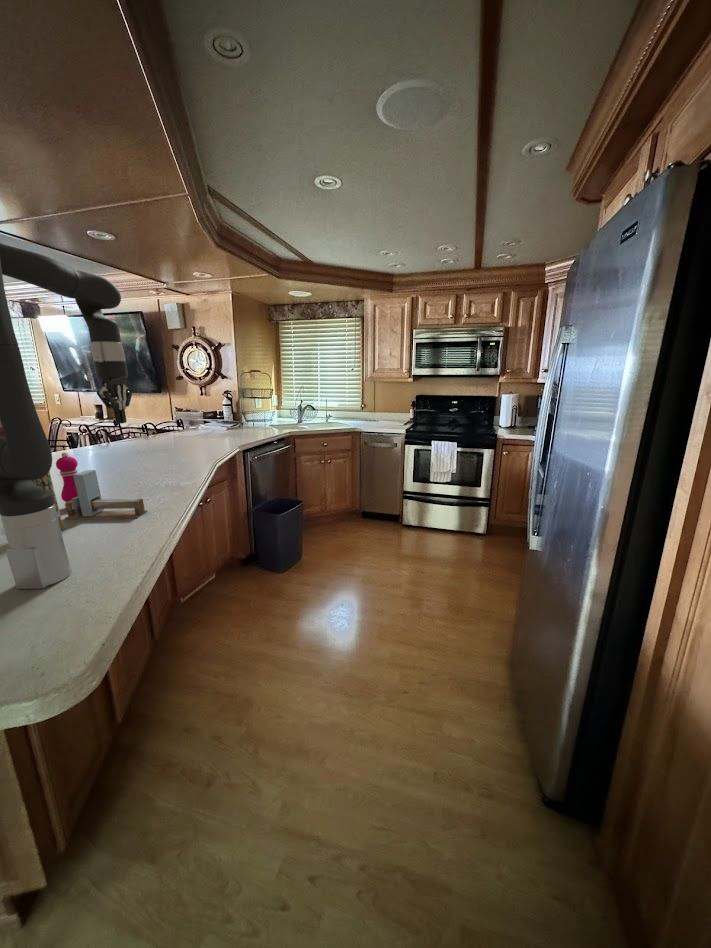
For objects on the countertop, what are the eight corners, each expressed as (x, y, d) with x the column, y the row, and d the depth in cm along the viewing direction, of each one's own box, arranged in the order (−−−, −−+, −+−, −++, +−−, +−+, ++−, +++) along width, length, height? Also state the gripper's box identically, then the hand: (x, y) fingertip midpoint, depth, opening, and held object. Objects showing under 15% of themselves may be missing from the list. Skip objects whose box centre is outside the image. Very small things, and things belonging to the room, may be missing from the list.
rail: (137, 518, 123) (133, 497, 121) (65, 519, 123) (60, 499, 121) (147, 511, 128) (144, 492, 127) (78, 512, 129) (74, 493, 127)
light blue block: (91, 516, 123) (82, 474, 119) (82, 516, 123) (73, 475, 119) (103, 509, 128) (95, 470, 125) (95, 509, 128) (86, 470, 125)
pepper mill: (67, 505, 136) (54, 451, 131) (90, 502, 139) (79, 449, 134) (61, 511, 130) (48, 455, 125) (86, 508, 133) (74, 453, 128)
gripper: (111, 361, 109) (122, 420, 114) (78, 359, 96) (92, 426, 101) (137, 360, 109) (147, 420, 114) (107, 359, 96) (120, 426, 101)
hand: (121, 423), depth 107 cm, fingers closed
